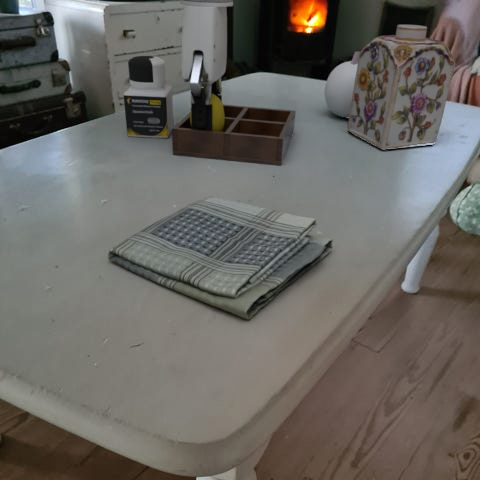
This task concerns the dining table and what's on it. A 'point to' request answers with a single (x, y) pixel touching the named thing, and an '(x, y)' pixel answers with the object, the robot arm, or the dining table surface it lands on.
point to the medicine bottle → (148, 99)
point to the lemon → (216, 113)
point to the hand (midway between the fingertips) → (206, 124)
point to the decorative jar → (401, 88)
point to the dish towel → (224, 253)
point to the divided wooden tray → (239, 136)
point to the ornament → (341, 87)
